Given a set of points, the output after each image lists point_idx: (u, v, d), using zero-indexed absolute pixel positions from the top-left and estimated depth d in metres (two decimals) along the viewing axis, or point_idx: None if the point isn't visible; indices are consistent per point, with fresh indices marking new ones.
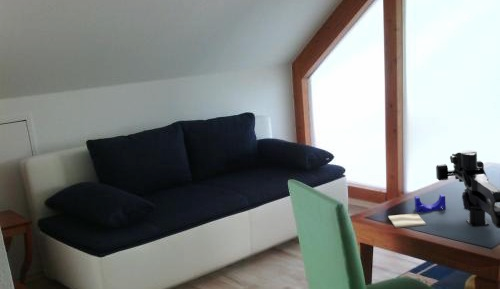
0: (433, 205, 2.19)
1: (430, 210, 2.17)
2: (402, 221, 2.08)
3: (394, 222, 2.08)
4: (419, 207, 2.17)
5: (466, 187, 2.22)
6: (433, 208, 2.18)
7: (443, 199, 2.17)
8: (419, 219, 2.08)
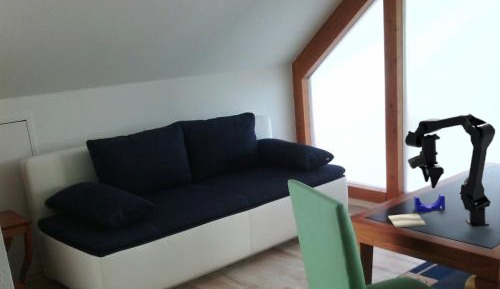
0: (433, 205, 2.20)
1: (429, 210, 2.18)
2: (402, 221, 2.08)
3: (394, 222, 2.08)
4: (419, 207, 2.18)
5: None
6: (433, 208, 2.19)
7: (443, 199, 2.18)
8: (419, 219, 2.08)
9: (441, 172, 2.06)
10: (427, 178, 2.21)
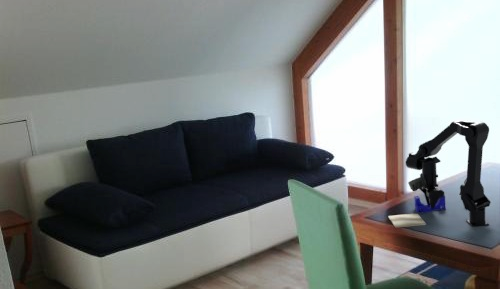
0: None
1: (430, 210, 2.17)
2: (402, 221, 2.08)
3: (394, 222, 2.08)
4: (419, 207, 2.17)
5: None
6: None
7: (443, 199, 2.17)
8: (419, 219, 2.08)
9: (442, 195, 2.08)
10: (429, 201, 2.21)
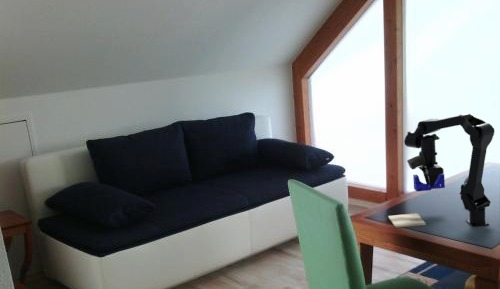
0: None
1: (429, 188, 2.15)
2: (402, 221, 2.08)
3: (394, 222, 2.08)
4: (418, 185, 2.15)
5: None
6: None
7: (442, 177, 2.15)
8: (419, 219, 2.08)
9: (441, 172, 2.06)
10: (428, 180, 2.19)
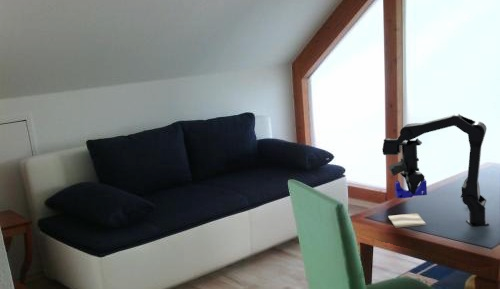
0: None
1: (410, 196, 2.08)
2: (402, 221, 2.08)
3: (394, 222, 2.08)
4: (399, 192, 2.08)
5: None
6: None
7: (424, 184, 2.08)
8: (419, 219, 2.08)
9: (421, 179, 1.99)
10: None
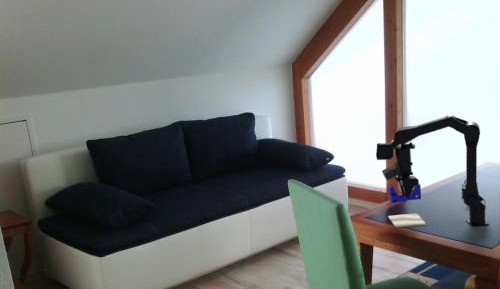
0: None
1: (405, 200, 2.06)
2: (402, 221, 2.08)
3: (394, 222, 2.08)
4: (393, 197, 2.06)
5: None
6: (408, 198, 2.07)
7: (418, 188, 2.06)
8: (419, 219, 2.08)
9: (416, 183, 1.97)
10: None
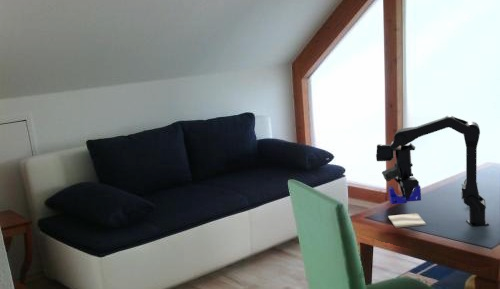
0: None
1: (405, 201, 2.06)
2: (402, 221, 2.08)
3: (394, 222, 2.08)
4: (393, 198, 2.06)
5: None
6: None
7: (418, 189, 2.06)
8: (419, 219, 2.08)
9: (416, 185, 1.97)
10: None
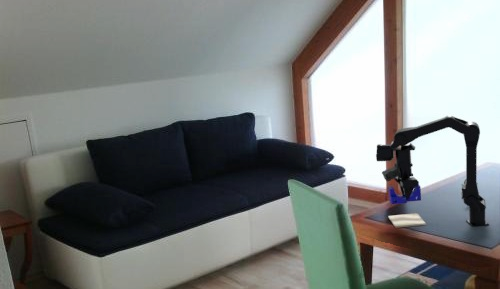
0: None
1: (405, 201, 2.06)
2: (402, 221, 2.08)
3: (394, 222, 2.08)
4: (393, 198, 2.06)
5: None
6: None
7: (418, 189, 2.06)
8: (419, 219, 2.08)
9: (416, 185, 1.97)
10: None
